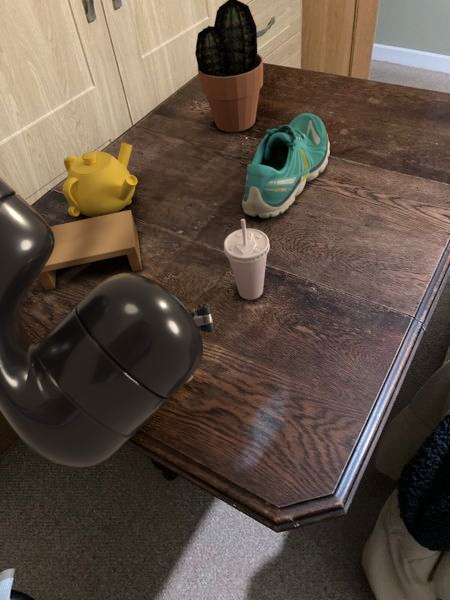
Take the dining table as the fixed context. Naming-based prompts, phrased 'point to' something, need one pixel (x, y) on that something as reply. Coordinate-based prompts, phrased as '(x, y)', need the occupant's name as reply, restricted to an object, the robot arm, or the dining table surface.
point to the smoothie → (247, 259)
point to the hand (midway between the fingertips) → (153, 325)
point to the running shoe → (285, 165)
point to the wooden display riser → (92, 243)
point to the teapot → (98, 183)
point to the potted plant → (230, 67)
